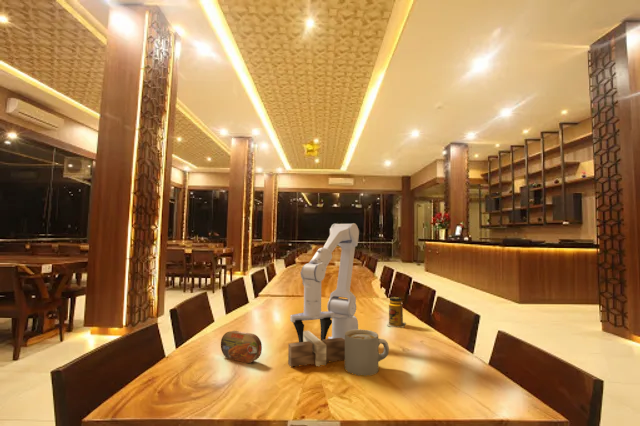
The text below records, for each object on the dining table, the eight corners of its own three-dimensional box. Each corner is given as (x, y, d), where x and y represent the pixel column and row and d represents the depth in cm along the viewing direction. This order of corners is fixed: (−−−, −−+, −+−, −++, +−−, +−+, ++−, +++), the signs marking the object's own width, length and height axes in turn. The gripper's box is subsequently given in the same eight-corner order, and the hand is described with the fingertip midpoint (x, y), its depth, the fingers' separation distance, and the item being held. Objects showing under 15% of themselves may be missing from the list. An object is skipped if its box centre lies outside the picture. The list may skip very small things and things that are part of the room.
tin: (219, 356, 104) (220, 329, 105) (226, 353, 107) (227, 327, 108) (256, 366, 97) (257, 337, 98) (263, 362, 100) (263, 334, 101)
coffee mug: (346, 375, 91) (346, 339, 92) (343, 361, 101) (343, 329, 102) (393, 376, 91) (393, 339, 92) (386, 362, 101) (386, 329, 102)
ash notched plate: (308, 348, 113) (308, 330, 114) (326, 365, 98) (326, 344, 99) (300, 349, 112) (300, 331, 112) (316, 366, 97) (317, 346, 98)
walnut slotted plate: (341, 356, 106) (341, 337, 106) (345, 359, 103) (345, 340, 103) (288, 363, 99) (288, 343, 100) (291, 367, 96) (291, 346, 97)
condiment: (386, 326, 142) (386, 298, 143) (389, 321, 150) (389, 295, 151) (403, 328, 140) (403, 299, 141) (405, 323, 148) (405, 296, 149)
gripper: (295, 304, 101) (294, 348, 100) (337, 301, 106) (337, 343, 105) (288, 299, 107) (288, 341, 106) (329, 297, 112) (328, 337, 112)
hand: (312, 342), depth 106 cm, fingers open, 7 cm apart
